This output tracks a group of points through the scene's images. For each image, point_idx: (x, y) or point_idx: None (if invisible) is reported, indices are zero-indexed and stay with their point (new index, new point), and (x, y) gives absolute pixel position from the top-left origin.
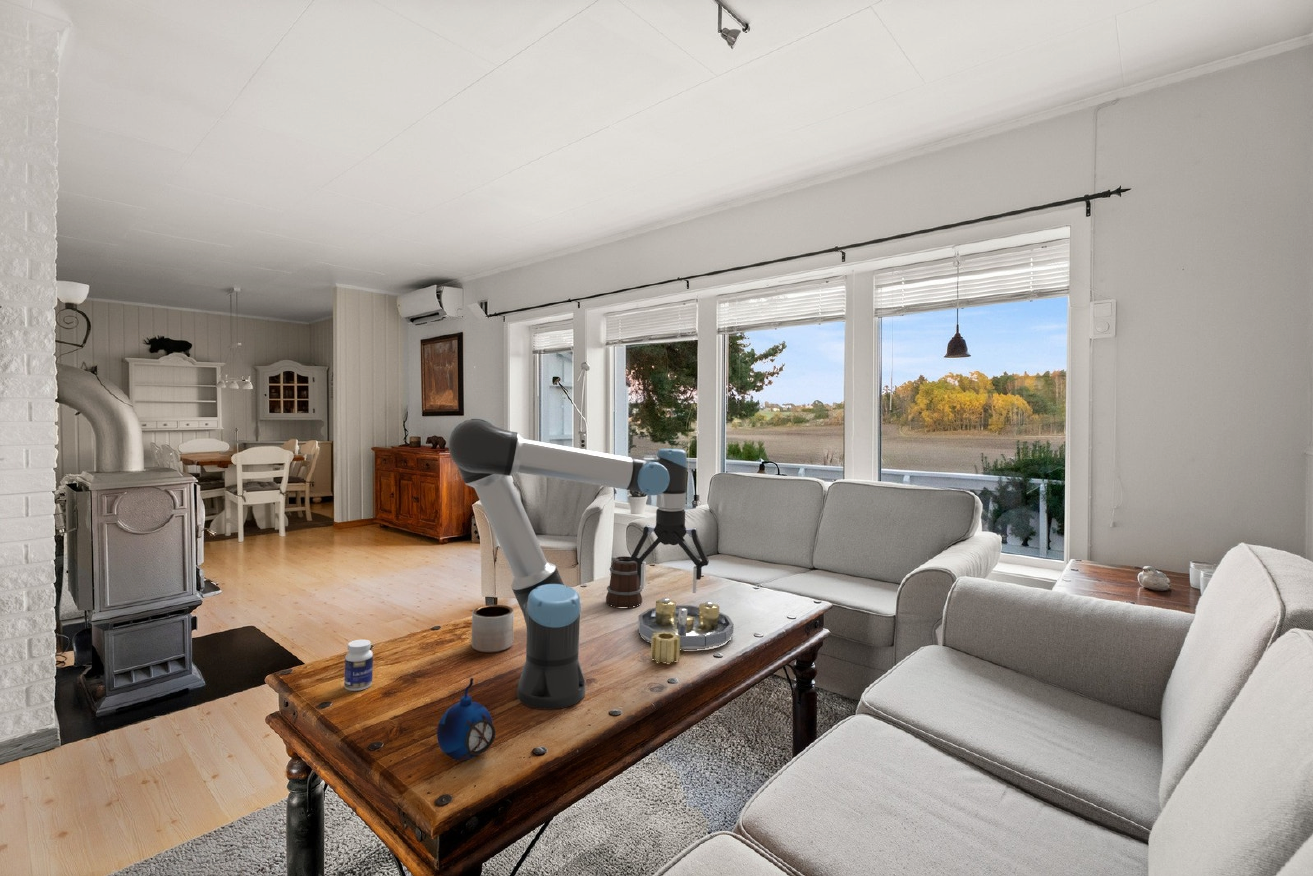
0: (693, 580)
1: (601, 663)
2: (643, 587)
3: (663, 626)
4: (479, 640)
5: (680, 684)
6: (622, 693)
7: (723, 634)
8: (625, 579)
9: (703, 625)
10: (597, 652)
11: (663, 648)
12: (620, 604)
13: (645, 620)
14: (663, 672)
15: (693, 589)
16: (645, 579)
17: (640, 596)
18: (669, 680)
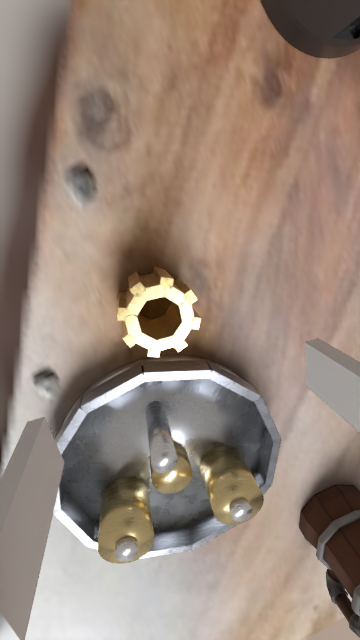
0: (18, 475)
1: (279, 204)
2: (310, 345)
3: (216, 442)
4: None
5: (52, 169)
6: (168, 38)
7: None
8: None
9: (130, 483)
10: (306, 261)
11: (151, 281)
12: (335, 494)
13: (262, 446)
14: (124, 223)
15: (34, 431)
16: (331, 404)
17: (310, 539)
18: (89, 181)
